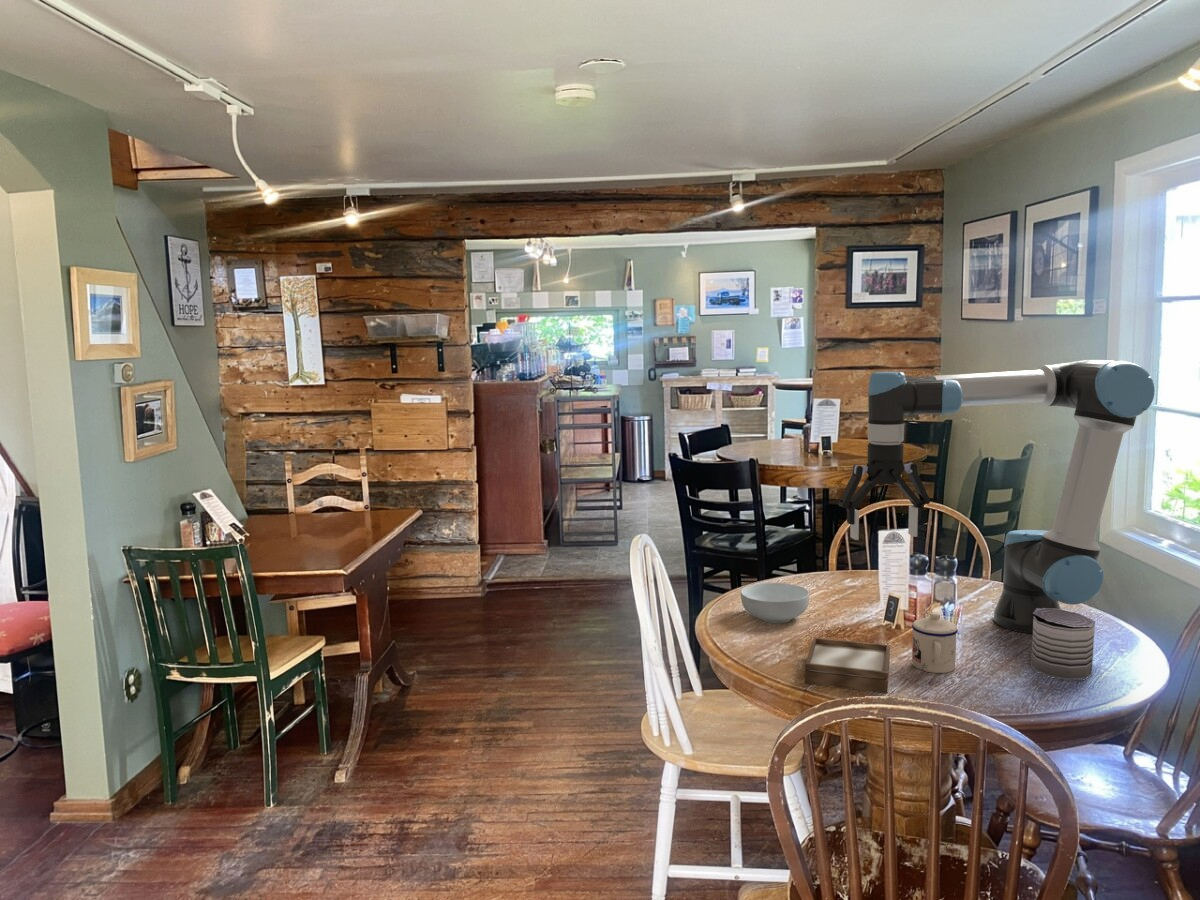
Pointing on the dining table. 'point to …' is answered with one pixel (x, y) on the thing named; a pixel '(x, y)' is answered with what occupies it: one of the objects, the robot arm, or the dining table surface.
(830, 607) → the dining table surface
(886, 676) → the wooden box
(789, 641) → the dining table surface
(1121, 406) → the robot arm
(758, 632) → the dining table surface
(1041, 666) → the can
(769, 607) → the cereal bowl
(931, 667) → the teacup with lid
